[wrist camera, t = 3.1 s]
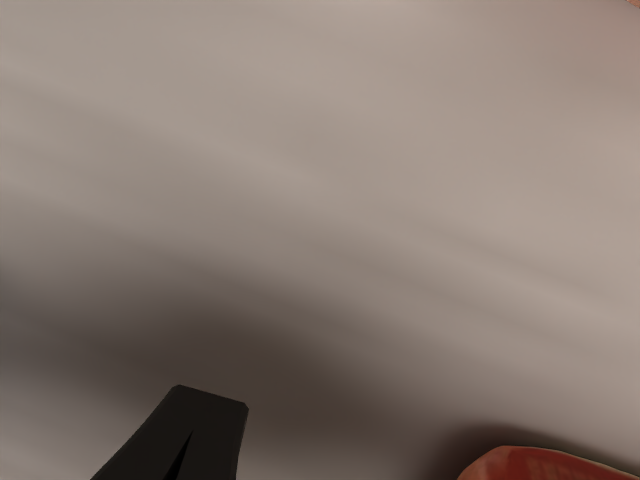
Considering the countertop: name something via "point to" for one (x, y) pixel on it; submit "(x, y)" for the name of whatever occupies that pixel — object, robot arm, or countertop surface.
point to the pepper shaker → (635, 2)
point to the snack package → (538, 466)
